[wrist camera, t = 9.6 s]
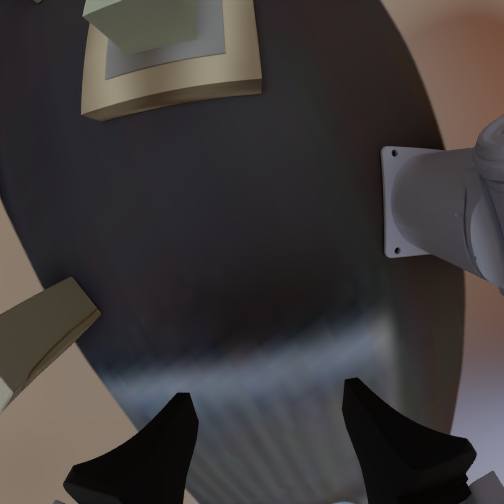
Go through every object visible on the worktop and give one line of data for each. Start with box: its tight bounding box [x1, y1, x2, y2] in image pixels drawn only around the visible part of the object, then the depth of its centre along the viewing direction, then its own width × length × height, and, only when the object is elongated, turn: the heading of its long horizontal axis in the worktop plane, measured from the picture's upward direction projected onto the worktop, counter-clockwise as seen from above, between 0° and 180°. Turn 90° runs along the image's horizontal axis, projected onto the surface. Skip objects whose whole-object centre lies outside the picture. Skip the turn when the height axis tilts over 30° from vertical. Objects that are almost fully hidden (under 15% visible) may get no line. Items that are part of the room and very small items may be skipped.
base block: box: [81, 0, 262, 122], centre depth 15 cm, size 12×12×3 cm
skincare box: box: [0, 277, 101, 414], centre depth 16 cm, size 6×4×12 cm
